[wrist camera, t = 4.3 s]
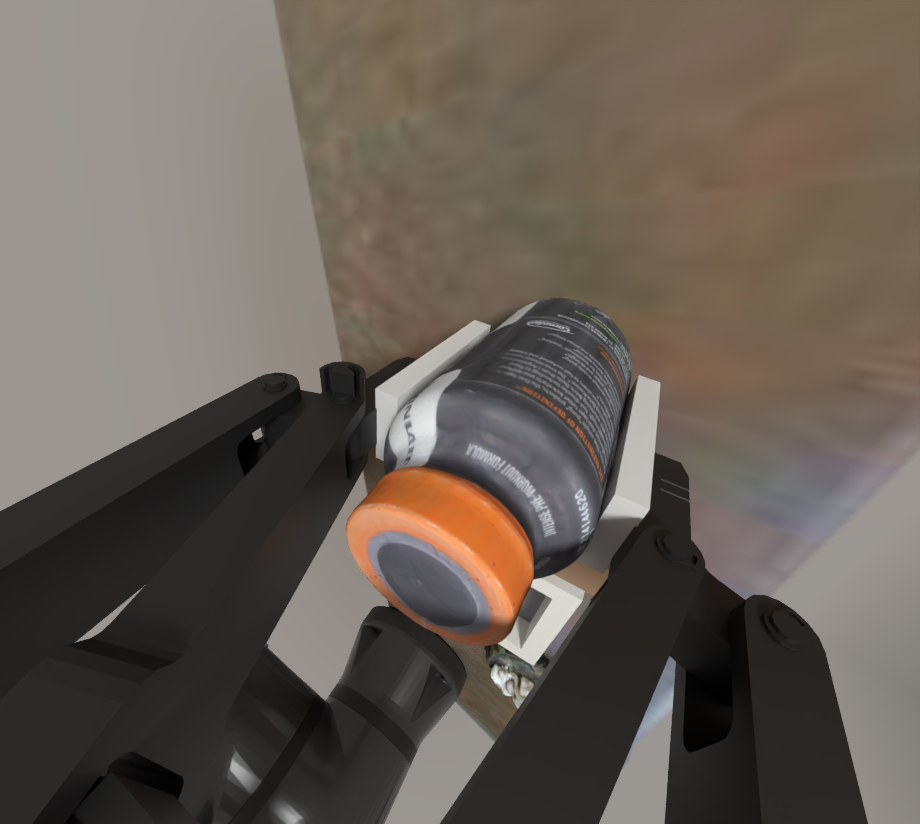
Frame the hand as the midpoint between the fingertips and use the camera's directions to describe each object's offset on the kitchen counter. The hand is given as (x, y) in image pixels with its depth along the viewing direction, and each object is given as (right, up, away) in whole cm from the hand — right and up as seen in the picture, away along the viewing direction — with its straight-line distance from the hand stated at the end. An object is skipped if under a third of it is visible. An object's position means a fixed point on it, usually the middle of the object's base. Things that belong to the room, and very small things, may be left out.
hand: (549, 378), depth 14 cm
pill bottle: (+1, +1, +1) cm, 2 cm away
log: (+5, -28, +21) cm, 35 cm away
